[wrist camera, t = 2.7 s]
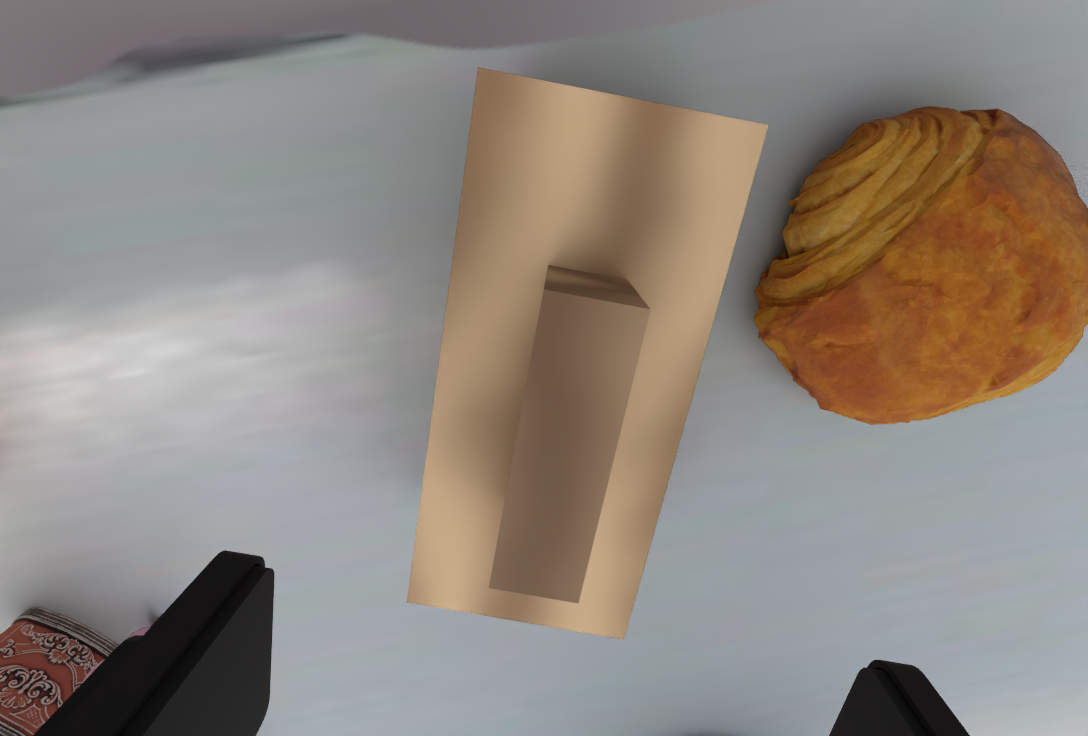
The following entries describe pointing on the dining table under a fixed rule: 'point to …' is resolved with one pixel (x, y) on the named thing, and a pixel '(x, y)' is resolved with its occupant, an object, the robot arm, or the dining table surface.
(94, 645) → the lighter
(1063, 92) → the dining table surface
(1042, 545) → the dining table surface
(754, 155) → the wooden block with riser
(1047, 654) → the dining table surface
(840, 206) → the croissant
